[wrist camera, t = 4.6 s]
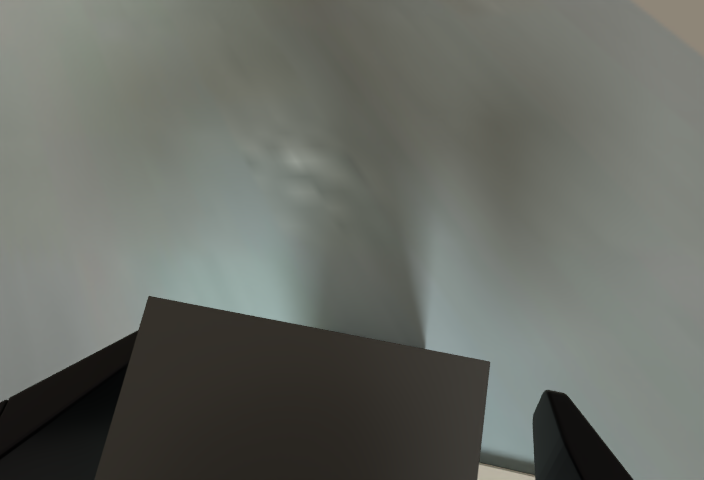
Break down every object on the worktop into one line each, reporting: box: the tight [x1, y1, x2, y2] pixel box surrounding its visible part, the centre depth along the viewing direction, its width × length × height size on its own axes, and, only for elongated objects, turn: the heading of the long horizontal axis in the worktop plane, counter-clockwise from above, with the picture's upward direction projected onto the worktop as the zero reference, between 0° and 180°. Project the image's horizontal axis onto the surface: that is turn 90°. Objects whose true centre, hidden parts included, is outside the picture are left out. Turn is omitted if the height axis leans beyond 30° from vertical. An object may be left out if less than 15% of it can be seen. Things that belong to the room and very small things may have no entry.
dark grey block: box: [94, 296, 490, 480], centre depth 10 cm, size 4×4×12 cm
